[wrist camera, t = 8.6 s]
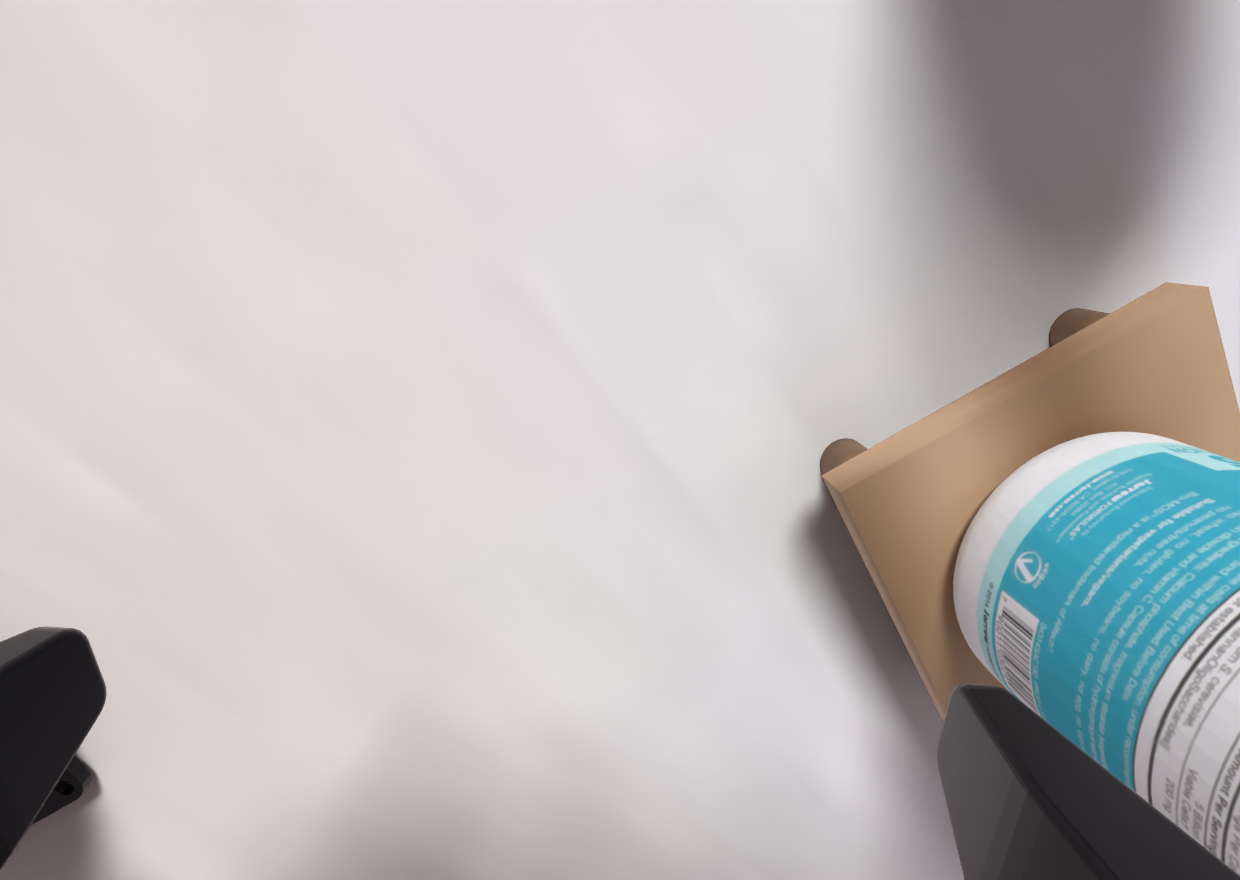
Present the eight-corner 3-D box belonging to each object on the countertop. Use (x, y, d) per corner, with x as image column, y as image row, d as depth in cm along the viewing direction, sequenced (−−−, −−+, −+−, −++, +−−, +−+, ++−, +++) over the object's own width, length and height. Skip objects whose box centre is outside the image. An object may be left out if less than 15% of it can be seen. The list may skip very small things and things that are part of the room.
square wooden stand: (911, 688, 24) (972, 764, 21) (790, 448, 21) (839, 492, 18) (1179, 543, 24) (1285, 597, 20) (1098, 275, 20) (1208, 286, 17)
